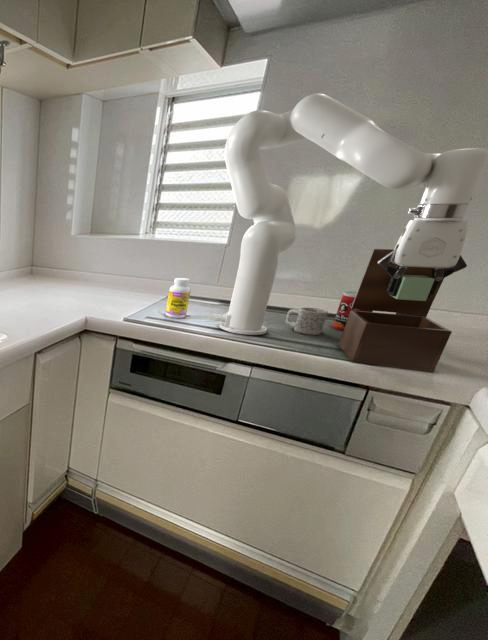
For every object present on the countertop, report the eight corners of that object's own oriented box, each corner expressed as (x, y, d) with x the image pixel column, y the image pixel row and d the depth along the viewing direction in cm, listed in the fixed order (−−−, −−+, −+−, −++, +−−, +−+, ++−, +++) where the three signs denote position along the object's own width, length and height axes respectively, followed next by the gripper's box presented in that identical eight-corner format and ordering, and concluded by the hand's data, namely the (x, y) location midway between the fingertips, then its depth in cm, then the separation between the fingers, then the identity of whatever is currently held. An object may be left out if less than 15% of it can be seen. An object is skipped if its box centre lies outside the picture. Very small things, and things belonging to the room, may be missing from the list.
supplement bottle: (165, 317, 139) (172, 279, 134) (164, 313, 145) (170, 276, 140) (186, 319, 137) (194, 280, 132) (184, 314, 143) (191, 277, 138)
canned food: (325, 325, 128) (337, 291, 124) (351, 325, 128) (363, 291, 124) (344, 332, 121) (357, 296, 117) (372, 332, 121) (385, 296, 117)
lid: (456, 251, 92) (447, 247, 97) (374, 249, 99) (369, 245, 103) (426, 315, 100) (419, 309, 104) (351, 308, 106) (347, 303, 110)
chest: (433, 372, 92) (452, 331, 88) (352, 361, 98) (366, 323, 95) (409, 353, 104) (425, 316, 100) (338, 345, 110) (350, 310, 107)
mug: (325, 332, 121) (332, 310, 119) (314, 335, 118) (321, 313, 116) (288, 324, 129) (294, 304, 127) (278, 327, 126) (283, 307, 124)
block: (389, 295, 98) (397, 274, 96) (417, 297, 96) (425, 275, 94) (396, 299, 94) (405, 277, 92) (425, 301, 92) (435, 278, 90)
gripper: (394, 213, 88) (365, 296, 95) (506, 213, 81) (466, 302, 88) (383, 213, 95) (357, 290, 101) (486, 213, 87) (450, 296, 94)
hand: (408, 295), depth 95 cm, fingers closed on block, 5 cm apart
